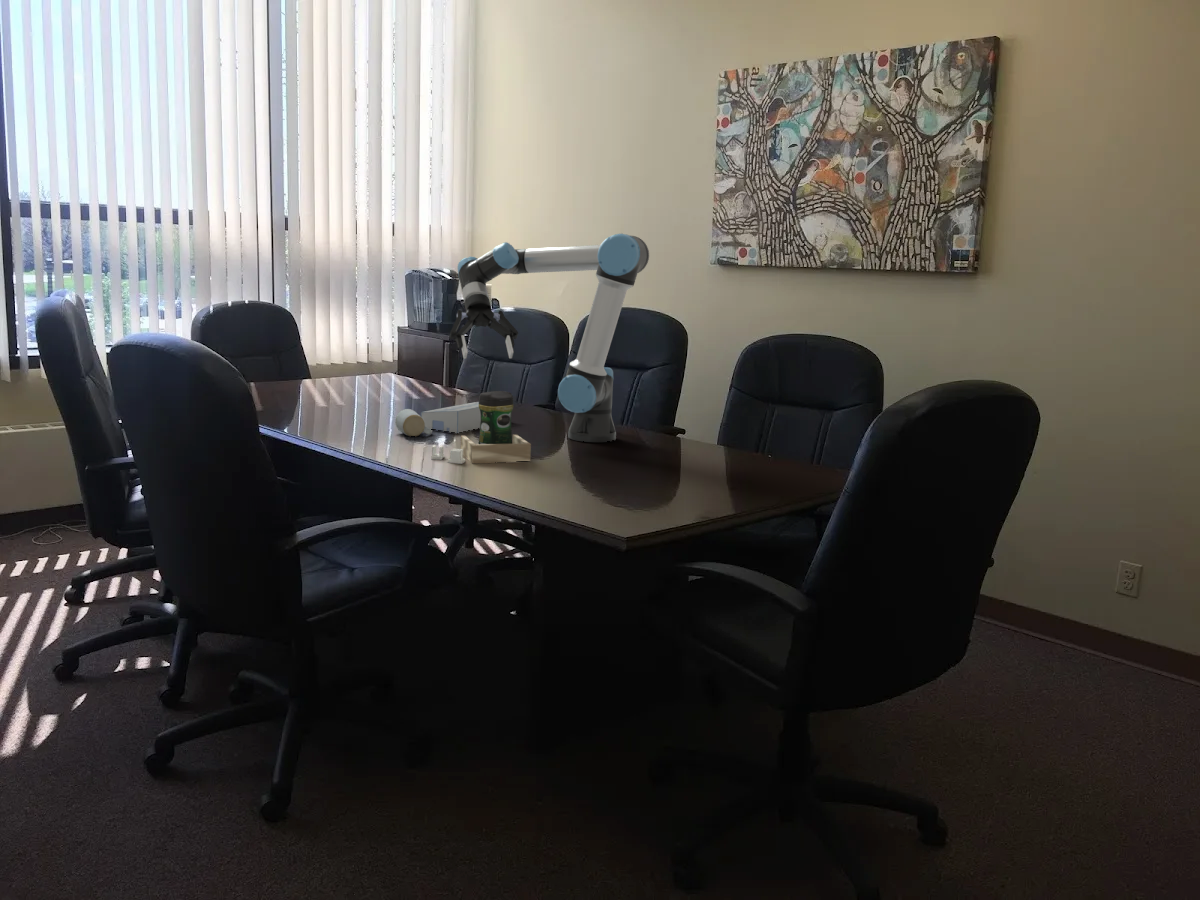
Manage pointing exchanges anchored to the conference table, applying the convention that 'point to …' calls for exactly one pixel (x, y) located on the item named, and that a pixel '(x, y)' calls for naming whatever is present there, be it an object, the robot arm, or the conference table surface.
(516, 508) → the conference table surface
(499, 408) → the coffee jar
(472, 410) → the white bar
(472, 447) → the wooden u-shaped piece
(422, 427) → the ceramic mug
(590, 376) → the robot arm
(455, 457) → the cable clips
